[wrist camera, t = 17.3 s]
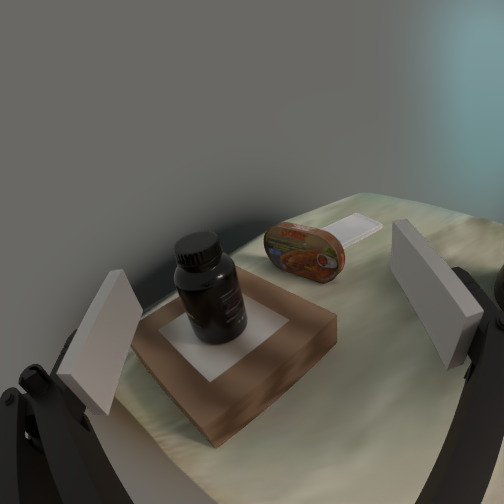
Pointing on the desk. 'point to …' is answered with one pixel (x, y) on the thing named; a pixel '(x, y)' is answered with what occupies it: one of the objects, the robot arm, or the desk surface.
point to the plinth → (235, 356)
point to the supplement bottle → (209, 288)
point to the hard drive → (353, 229)
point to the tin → (305, 251)
